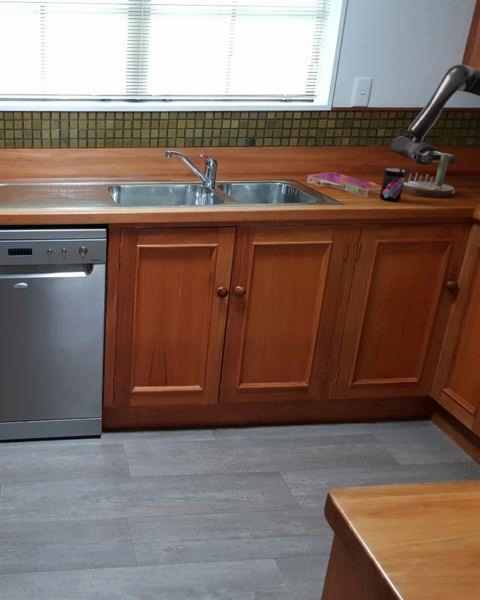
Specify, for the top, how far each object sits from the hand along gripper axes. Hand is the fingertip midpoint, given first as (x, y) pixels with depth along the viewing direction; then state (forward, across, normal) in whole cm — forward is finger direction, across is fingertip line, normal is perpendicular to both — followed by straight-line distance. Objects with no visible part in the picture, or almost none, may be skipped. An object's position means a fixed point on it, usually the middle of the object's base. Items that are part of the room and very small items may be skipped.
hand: (442, 160), depth 225 cm
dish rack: (+4, -5, +10) cm, 11 cm away
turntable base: (+4, -5, +11) cm, 13 cm away
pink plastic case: (+1, -33, +12) cm, 35 cm away
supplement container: (+17, -24, +12) cm, 31 cm away
